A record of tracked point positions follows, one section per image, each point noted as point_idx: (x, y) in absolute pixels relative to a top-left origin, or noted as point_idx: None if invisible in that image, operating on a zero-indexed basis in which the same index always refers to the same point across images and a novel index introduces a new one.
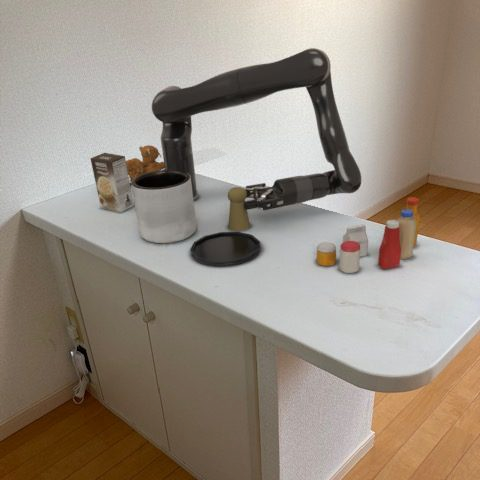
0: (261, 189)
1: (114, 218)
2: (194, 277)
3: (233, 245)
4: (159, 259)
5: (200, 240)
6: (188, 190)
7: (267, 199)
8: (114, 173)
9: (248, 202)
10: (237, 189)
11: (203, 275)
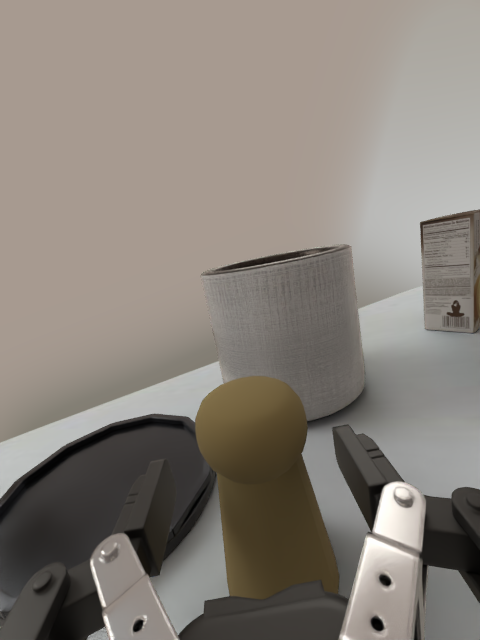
0: (343, 631)
1: (392, 330)
2: (65, 431)
3: (100, 505)
4: (179, 389)
5: (190, 428)
6: (228, 300)
7: (42, 626)
8: (424, 248)
9: (147, 480)
10: (226, 392)
11: (54, 443)
